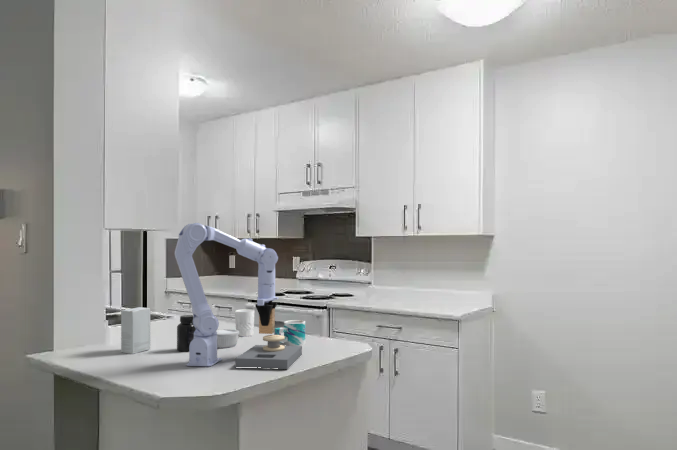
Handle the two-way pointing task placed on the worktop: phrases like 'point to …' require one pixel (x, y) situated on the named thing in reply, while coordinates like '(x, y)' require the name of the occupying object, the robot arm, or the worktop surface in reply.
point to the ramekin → (227, 338)
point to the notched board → (270, 354)
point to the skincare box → (135, 330)
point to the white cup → (244, 322)
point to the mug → (292, 333)
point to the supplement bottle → (185, 333)
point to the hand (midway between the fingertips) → (266, 324)
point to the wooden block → (271, 326)
